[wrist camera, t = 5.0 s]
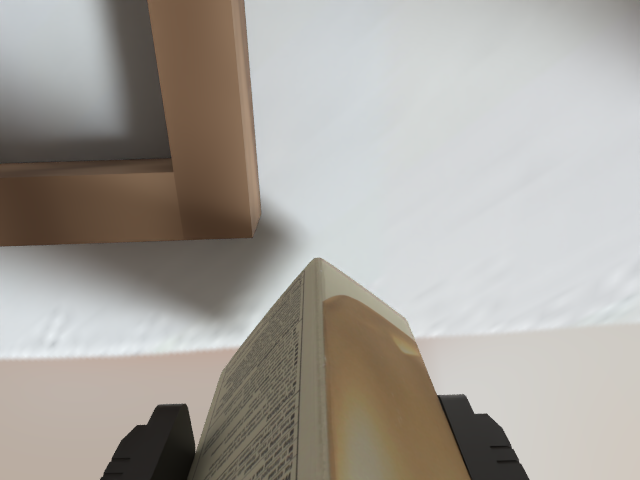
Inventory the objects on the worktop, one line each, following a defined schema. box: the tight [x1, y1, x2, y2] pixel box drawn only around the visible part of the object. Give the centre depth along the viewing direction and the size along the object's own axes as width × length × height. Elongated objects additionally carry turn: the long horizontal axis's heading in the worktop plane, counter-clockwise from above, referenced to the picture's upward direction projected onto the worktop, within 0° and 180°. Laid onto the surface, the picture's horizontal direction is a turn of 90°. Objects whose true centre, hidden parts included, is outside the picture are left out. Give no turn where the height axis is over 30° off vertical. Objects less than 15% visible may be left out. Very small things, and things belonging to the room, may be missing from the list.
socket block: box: [0, 0, 261, 246], centre depth 14 cm, size 15×15×3 cm
